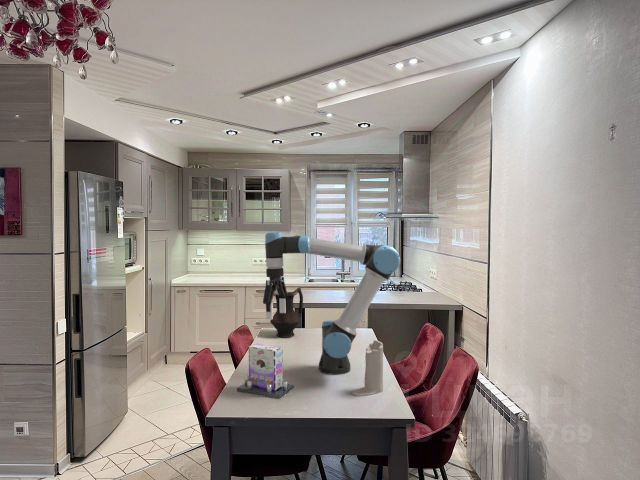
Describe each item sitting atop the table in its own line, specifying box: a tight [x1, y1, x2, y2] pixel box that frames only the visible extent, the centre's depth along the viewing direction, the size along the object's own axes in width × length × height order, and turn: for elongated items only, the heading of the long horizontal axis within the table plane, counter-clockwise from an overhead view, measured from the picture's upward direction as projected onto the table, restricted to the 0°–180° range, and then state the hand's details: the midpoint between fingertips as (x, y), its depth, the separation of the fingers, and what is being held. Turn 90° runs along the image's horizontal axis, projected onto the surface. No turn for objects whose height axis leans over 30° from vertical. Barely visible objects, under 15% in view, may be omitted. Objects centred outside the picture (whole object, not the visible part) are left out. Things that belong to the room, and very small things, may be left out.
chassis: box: [236, 374, 295, 399], centre depth 175 cm, size 20×12×4 cm, turn 67°
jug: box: [269, 286, 304, 338], centre depth 264 cm, size 21×18×30 cm
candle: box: [351, 339, 384, 397], centre depth 173 cm, size 7×14×20 cm, turn 119°
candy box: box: [248, 343, 284, 391], centre depth 175 cm, size 14×6×16 cm, turn 59°
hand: (276, 316), depth 185 cm, fingers open, 13 cm apart
